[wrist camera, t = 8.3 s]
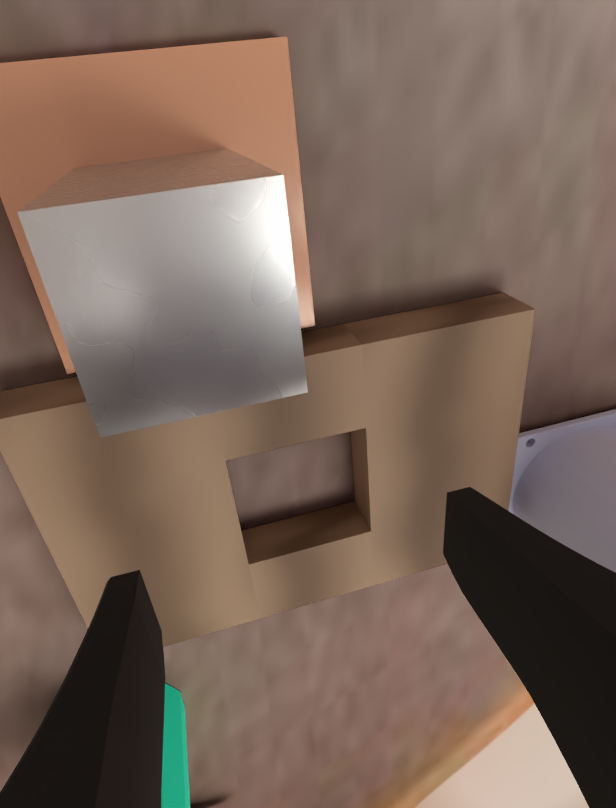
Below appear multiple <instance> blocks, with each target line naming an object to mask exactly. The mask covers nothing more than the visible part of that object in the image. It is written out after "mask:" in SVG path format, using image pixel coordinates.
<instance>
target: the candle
mask: <svg viewBox="0 0 616 808" xmlns="http://www.w3.org/2000/svg"><path fill="white" fill-rule="evenodd" d="M161 808H190V792H189V774H188V756H187V738H186V720H185V706H184V703H183V700H182V697H181V693H180V691H178V690H177V689H175V688H173V687H171V686H169V685H167V684H166V683H165V703H164V732H163V759H162V787H161Z"/></svg>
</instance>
